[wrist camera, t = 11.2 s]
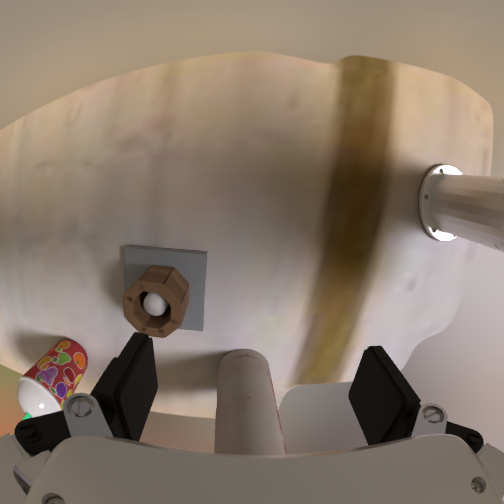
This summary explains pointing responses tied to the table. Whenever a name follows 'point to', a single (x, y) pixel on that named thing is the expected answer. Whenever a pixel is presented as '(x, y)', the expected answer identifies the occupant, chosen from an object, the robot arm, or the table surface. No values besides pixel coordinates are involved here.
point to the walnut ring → (171, 290)
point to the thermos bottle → (246, 407)
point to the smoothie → (52, 379)
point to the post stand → (188, 267)
